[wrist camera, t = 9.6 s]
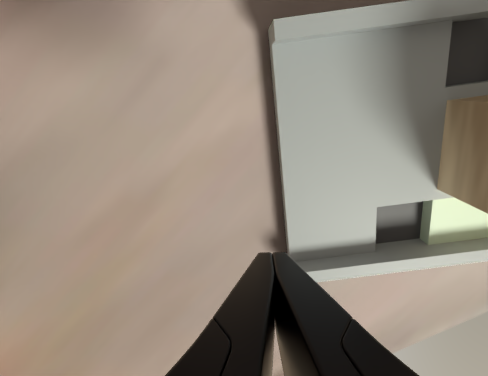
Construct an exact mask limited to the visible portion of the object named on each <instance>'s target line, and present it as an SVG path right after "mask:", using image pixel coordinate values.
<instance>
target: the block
mask: <svg viewBox="0 0 488 376" xmlns="http://www.w3.org/2000/svg"><path fill="white" fill-rule="evenodd" d="M437 189H438V190H440V191H442V192H444V193H446V194H448V195H450V196H452V197H454V198H456V199H458V200H460V201H463V202H465V203H467V204H469V205H471V206H473V207H475V208H477V209H479V210H481V211H483V212H485V213H487V214H488V95H483V96H476V97H468V98H461V99H453V100H447V105H446V114H445V122H444V131H443V140H442V149H441V158H440V167H439V176H438V184H437Z"/></svg>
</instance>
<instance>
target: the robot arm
mask: <svg viewBox="0 0 488 376" xmlns="http://www.w3.org/2000/svg"><path fill="white" fill-rule="evenodd" d="M275 328H276V334H277V340H278V345H279V350H280V356H281V361H282V366H283V372H284V376H419V375H417V374H416V373H415V372H414V371H413V370H411V369H410V368H409V367H408V366H406V365H405V364H404V363H403V362H402V361H400V360H399V359H398V358H397V357H396V356H394V355H393V354H392V353H391V352H390V351H389V350H387V349H386V348H385V347H384V346H383V345H381V344H380V343H379V342H378V341H377V340H376V339H375V338H374V337H373V336H372V335H371V334H369V333H368V332H367V331H366V330H365V329H364V328H363V327H362V326H361V325H360V324H359V323H358V322H357V321H356V320H355V319H353V318H352V317H351V316H350V315H349V314H348V313H347V312H346V311H345V310H344V309H343V308H342V307H341V306H340V305H339V304H338V303H337V302H336V301H335V300H334V299H333V298H332V297H331V296H330V295H329V294H328V293H327V292H326V291H325V290H324V289H323V288H322V287H321V286H320V285H318V284H317V283H316V282H315V281H314V280H313V279H312V278H311V277H310V276H309V275H308V274H307V273H306V272H305V271H304V270H303V269H302V268H301V267H300V266H299V265H298V264H297V263H296V262H295V261H294V260H293V259H292V258H291V257H290V256H289V255H288V254H287V253H285V252H274V253H273V254H271V253H270V252H267V253H258V254H257V256H256V257H255V259H254V260H253V262H252V263H251V264H250V266H249V267H248V269H247V270H246V271H245V273H244V274H243V276H242V277H241V278H240V280H239V281H238V283H237V284H236V285H235V287H234V288H233V290H232V291H231V292H230V294H229V295H228V297H227V298H226V300H225V301H224V302H223V304H222V305H221V307H220V308H219V309H218V311H217V312H216V314H215V315H214V316H213V319H211V320H210V322H209V323H208V325H207V326H206V328H205V329H204V330H203V332H202V333H201V334H200V336H199V337H198V338H197V339H196V341H195V342H194V343H193V345H192V346H191V347H190V348H189V349H188V350H187V352H186V353H185V354H184V355H183V356H182V357H181V358H180V360H179V361H178V362H177V363H176V364H175V365H174V366H173V367H172V368H171V370H170V371H169V372H168V373H167V374H166V375H165V376H272V367H273V351H274V334H275Z"/></svg>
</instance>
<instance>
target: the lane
mask: <svg viewBox="0 0 488 376" xmlns="http://www.w3.org/2000/svg"><path fill="white" fill-rule="evenodd" d="M268 35H269V47H270V59H271V70H272V82H273V93H274V105H275V116H276V128H277V139H278V151H279V162H280V174H281V185H282V197H283V208H284V220H285V232H286V243H287V254H288V255H289V256H290V257H291V258H292V259H293V260H294V261H295V262H296V263H297V264H298V265H299V266H300V267H301V268H302V269H303V270H304V271H305V272H306V273H307V274H308V275H309V276H310V277H311V278H312V279H313V280H314V281H315V282H324V281H332V280H340V279H348V278H357V277H365V276H373V275H381V274H389V273H397V272H405V271H413V270H421V269H429V268H437V267H445V266H453V265H461V264H469V263H478V262H486V261H488V214H487V213H485V212H483V211H481V210H479V209H477V208H475V207H473V206H471V205H469V204H467V203H465V202H463V201H460V200H458V199H456V198H454V197H452V196H450V195H448V194H446V193H444V192H442V191H440V190H438V189H437V184H438V176H439V167H440V158H441V149H442V140H443V131H444V122H445V114H446V105H447V100H453V99H461V98H468V97H476V96H483V95H488V0H408V1H401V2H394V3H387V4H379V5H372V6H365V7H358V8H351V9H343V10H336V11H329V12H322V13H315V14H307V15H300V16H293V17H286V18H279V19H273V21H272V23H271V25H270V27H269V29H268Z"/></svg>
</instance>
